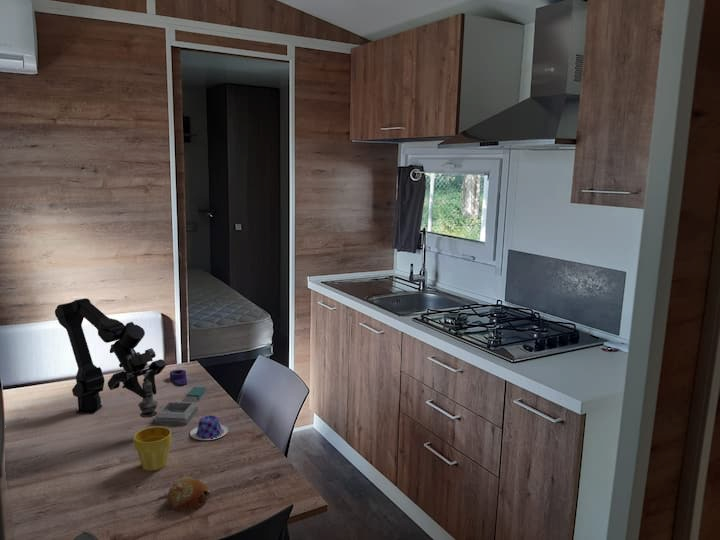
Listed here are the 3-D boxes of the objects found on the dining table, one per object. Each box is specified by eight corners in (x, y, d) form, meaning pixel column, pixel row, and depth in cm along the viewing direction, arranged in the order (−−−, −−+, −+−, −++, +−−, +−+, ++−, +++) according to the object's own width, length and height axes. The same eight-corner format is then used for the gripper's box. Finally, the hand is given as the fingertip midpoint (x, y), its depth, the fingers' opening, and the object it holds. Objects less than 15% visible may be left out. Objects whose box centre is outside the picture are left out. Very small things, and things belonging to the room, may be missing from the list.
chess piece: (151, 419, 185) (150, 383, 183) (135, 417, 186) (133, 381, 184) (161, 411, 190) (160, 376, 188) (145, 409, 191) (143, 374, 189)
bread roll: (180, 503, 157) (166, 478, 155) (215, 487, 157) (201, 462, 155) (171, 525, 147) (156, 499, 145) (208, 508, 147) (193, 482, 145)
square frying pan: (154, 423, 197) (154, 413, 196) (186, 391, 225) (185, 382, 225) (186, 424, 196) (186, 414, 195) (213, 392, 225) (213, 383, 224)
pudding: (183, 439, 186) (182, 424, 185) (202, 424, 197) (201, 409, 196) (217, 444, 183) (216, 428, 182) (234, 428, 194) (234, 413, 193)
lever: (168, 378, 239) (168, 371, 239) (184, 375, 243) (183, 368, 242) (175, 387, 229) (174, 380, 229) (191, 385, 232) (191, 377, 232)
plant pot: (137, 477, 162) (135, 445, 160) (133, 461, 171) (131, 430, 169) (176, 469, 167) (174, 437, 165) (169, 453, 176) (168, 423, 174)
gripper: (111, 349, 178) (135, 392, 174) (161, 335, 194) (185, 374, 190) (97, 369, 184) (120, 410, 180) (147, 353, 199) (170, 391, 195)
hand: (150, 395), depth 186 cm, fingers closed on chess piece, 4 cm apart
